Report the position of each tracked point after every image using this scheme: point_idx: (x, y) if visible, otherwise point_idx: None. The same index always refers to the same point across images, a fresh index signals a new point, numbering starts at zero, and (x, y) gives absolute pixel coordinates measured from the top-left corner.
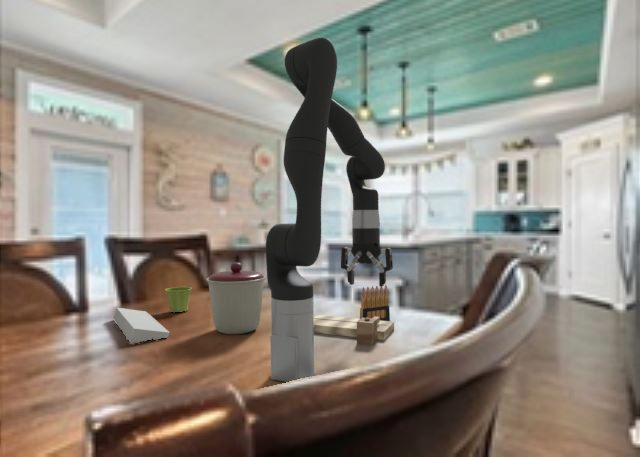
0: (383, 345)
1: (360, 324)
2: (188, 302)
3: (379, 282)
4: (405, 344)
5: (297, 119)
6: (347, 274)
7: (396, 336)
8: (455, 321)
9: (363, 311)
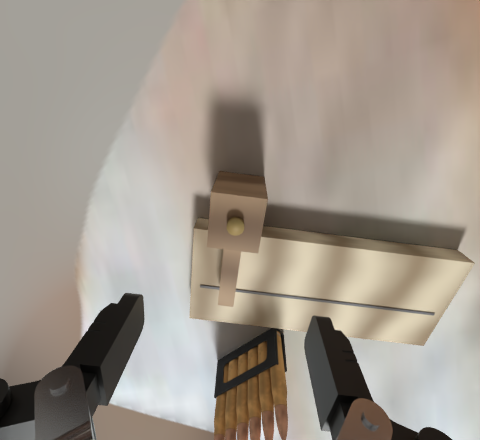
0: (190, 175)
1: (253, 194)
2: None
3: (131, 308)
4: (138, 197)
5: None
6: (364, 380)
7: (175, 254)
8: None
9: (275, 356)
